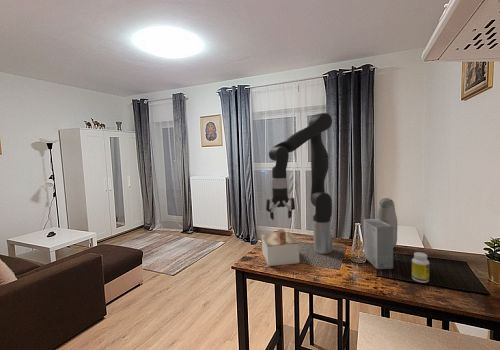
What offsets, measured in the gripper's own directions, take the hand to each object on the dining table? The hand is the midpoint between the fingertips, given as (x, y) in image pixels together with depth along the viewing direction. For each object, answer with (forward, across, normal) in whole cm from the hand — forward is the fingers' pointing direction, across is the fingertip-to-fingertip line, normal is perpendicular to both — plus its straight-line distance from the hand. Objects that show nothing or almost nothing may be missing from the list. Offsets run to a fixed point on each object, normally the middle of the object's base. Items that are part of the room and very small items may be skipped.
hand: (280, 218), depth 131 cm
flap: (+13, 0, -6) cm, 14 cm away
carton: (+23, 0, -6) cm, 24 cm away
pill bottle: (+23, -52, +30) cm, 64 cm away
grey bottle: (+23, -60, -4) cm, 64 cm away
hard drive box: (+23, -45, +10) cm, 52 cm away
